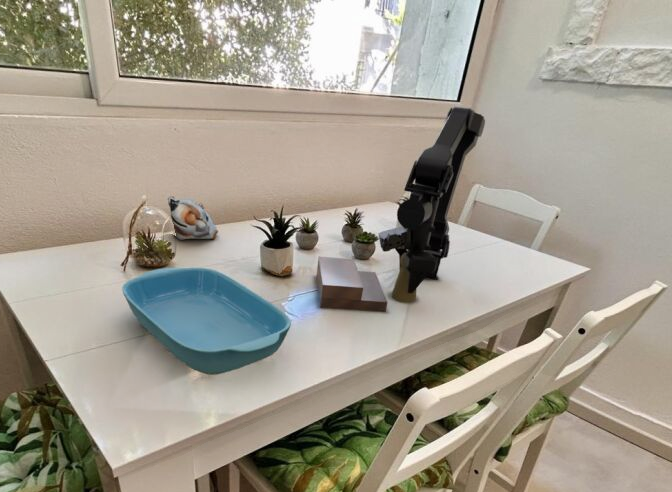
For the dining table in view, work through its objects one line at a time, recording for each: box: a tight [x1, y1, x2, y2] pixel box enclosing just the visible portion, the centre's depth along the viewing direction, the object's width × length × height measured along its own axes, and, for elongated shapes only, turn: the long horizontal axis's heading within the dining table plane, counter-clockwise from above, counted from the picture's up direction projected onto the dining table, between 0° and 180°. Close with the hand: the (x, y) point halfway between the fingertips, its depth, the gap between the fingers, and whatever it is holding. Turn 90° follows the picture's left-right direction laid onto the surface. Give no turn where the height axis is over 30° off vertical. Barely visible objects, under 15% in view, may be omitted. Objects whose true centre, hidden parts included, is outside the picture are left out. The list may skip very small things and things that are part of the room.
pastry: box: [264, 265, 293, 277], centre depth 119 cm, size 9×7×4 cm
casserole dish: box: [121, 267, 292, 376], centre depth 87 cm, size 37×22×7 cm, turn 41°
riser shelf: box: [315, 256, 388, 313], centre depth 110 cm, size 15×18×6 cm
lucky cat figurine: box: [167, 195, 219, 241], centre depth 132 cm, size 15×12×14 cm
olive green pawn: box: [390, 252, 418, 304], centre depth 110 cm, size 6×6×11 cm
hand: (405, 285), depth 111 cm, fingers open, 9 cm apart
